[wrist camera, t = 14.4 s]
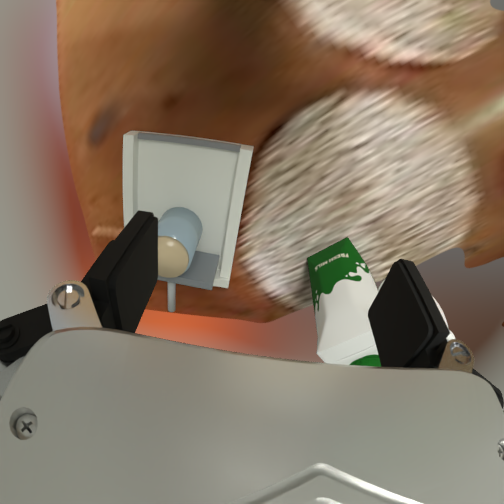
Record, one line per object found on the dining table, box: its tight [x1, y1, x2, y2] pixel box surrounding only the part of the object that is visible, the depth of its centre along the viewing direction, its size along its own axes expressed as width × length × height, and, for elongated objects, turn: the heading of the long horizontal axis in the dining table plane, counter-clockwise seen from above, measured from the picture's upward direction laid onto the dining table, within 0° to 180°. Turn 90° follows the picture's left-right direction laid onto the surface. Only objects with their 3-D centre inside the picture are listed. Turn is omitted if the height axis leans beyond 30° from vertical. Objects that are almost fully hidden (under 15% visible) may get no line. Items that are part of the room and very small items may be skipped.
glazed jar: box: [158, 207, 203, 278], centre depth 39 cm, size 6×6×8 cm
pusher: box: [157, 251, 220, 312], centre depth 44 cm, size 9×12×6 cm
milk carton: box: [307, 237, 381, 367], centre depth 37 cm, size 9×9×20 cm
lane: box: [123, 131, 254, 288], centre depth 41 cm, size 21×16×3 cm
